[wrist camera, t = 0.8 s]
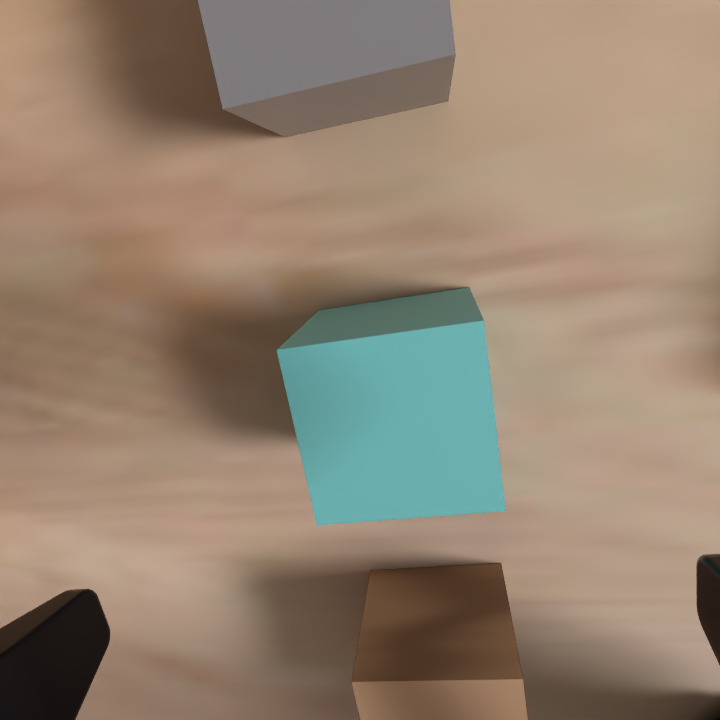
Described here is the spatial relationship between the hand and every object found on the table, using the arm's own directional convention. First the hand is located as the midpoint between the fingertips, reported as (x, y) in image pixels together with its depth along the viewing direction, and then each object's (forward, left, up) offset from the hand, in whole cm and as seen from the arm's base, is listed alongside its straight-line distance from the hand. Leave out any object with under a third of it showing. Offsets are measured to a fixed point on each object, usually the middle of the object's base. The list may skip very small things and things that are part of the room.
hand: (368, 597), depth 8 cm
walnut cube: (-7, +7, -11) cm, 15 cm away
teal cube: (0, 0, -11) cm, 11 cm away
